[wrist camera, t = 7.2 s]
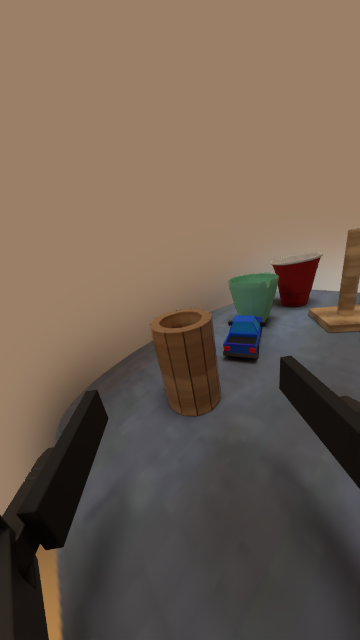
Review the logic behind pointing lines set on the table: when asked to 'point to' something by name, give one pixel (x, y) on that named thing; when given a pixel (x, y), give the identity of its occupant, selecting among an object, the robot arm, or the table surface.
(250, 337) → the toy car
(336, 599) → the table surface
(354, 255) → the towel stand
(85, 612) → the table surface
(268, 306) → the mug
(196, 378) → the wooden tube
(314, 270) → the plastic cup
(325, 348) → the table surface
